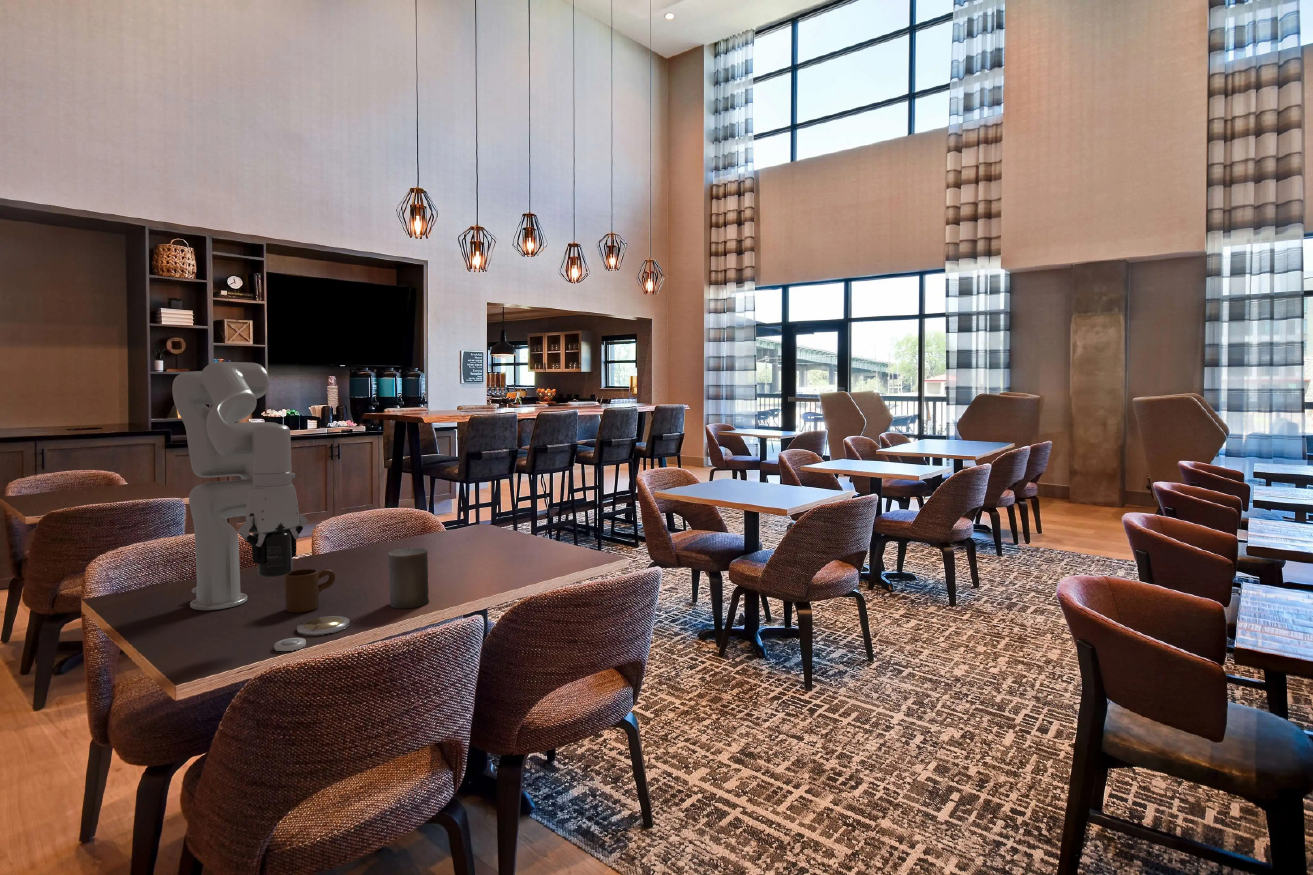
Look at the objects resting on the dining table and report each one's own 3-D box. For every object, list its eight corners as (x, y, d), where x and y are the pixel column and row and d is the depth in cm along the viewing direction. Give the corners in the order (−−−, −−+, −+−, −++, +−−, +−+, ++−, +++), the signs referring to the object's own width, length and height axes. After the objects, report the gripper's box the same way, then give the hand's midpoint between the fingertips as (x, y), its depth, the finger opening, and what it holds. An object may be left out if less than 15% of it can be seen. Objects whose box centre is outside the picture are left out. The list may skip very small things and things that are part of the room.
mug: (330, 599, 188) (329, 564, 188) (341, 605, 183) (340, 569, 182) (281, 608, 180) (280, 572, 180) (291, 615, 175) (290, 577, 174)
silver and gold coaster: (286, 631, 163) (286, 626, 163) (326, 617, 173) (326, 612, 173) (320, 638, 159) (320, 633, 159) (359, 624, 169) (359, 619, 169)
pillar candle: (436, 601, 187) (435, 544, 186) (406, 611, 178) (405, 551, 178) (411, 596, 192) (410, 541, 191) (381, 605, 183) (379, 548, 183)
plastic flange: (268, 649, 152) (267, 644, 152) (292, 640, 157) (292, 635, 157) (287, 653, 149) (287, 648, 149) (312, 644, 155) (312, 639, 155)
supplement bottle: (299, 570, 162) (297, 518, 161) (279, 578, 155) (278, 523, 154) (271, 569, 163) (269, 517, 162) (250, 576, 156) (248, 522, 155)
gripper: (296, 475, 167) (298, 550, 168) (223, 483, 151) (226, 566, 153) (318, 477, 164) (320, 553, 165) (245, 486, 148) (248, 570, 149)
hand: (275, 559), depth 159 cm, fingers closed on supplement bottle, 6 cm apart
